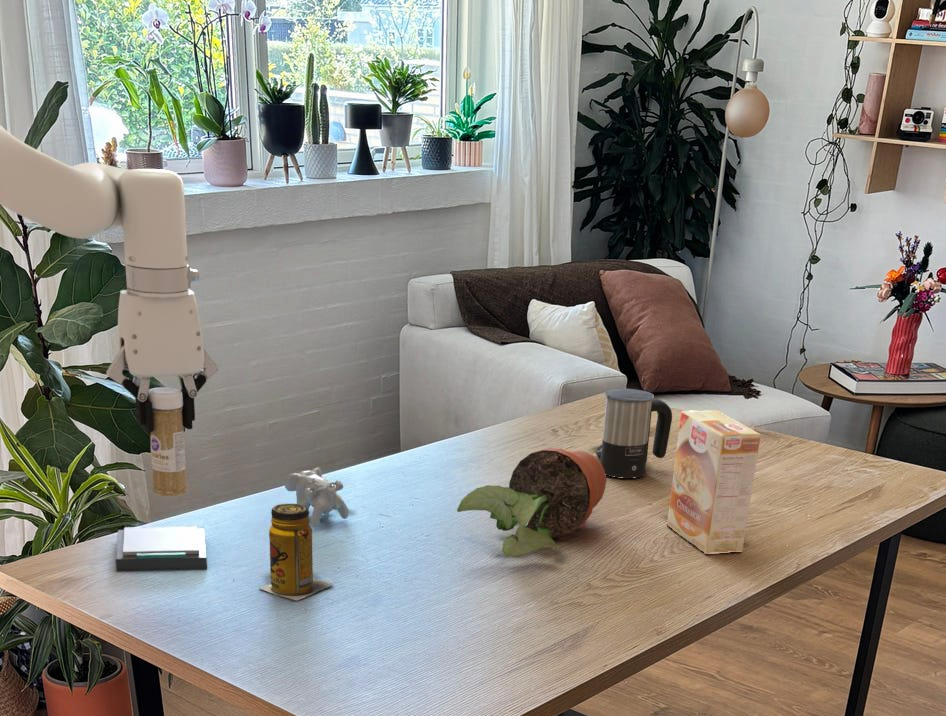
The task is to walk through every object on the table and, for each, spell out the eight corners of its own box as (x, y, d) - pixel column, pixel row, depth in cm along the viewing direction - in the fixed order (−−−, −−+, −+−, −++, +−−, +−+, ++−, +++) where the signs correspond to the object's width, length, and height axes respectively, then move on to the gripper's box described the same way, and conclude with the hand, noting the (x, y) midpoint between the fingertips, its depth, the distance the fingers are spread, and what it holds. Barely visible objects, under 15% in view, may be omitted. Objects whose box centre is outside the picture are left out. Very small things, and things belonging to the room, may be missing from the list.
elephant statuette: (326, 532, 209) (326, 486, 206) (264, 519, 214) (262, 473, 210) (356, 517, 217) (356, 472, 213) (295, 504, 221) (294, 459, 217)
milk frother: (621, 482, 242) (630, 402, 235) (562, 462, 252) (569, 383, 245) (672, 471, 250) (682, 393, 243) (613, 452, 260) (621, 376, 253)
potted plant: (532, 518, 227) (439, 560, 198) (546, 430, 220) (453, 460, 191) (614, 541, 221) (532, 586, 192) (632, 451, 214) (549, 485, 185)
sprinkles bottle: (146, 493, 173) (138, 391, 167) (166, 485, 177) (160, 384, 170) (174, 499, 172) (168, 396, 165) (194, 491, 176) (189, 389, 169)
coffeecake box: (664, 526, 222) (679, 410, 212) (702, 523, 224) (718, 409, 214) (704, 556, 209) (722, 434, 200) (743, 553, 212) (763, 433, 202)
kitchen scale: (116, 571, 190) (115, 555, 189) (118, 541, 201) (117, 526, 200) (207, 569, 193) (206, 553, 192) (204, 539, 204) (203, 524, 202)
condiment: (258, 589, 187) (255, 508, 181) (297, 573, 193) (295, 494, 187) (296, 602, 183) (294, 519, 177) (335, 586, 190) (334, 505, 184)
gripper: (211, 273, 168) (217, 416, 177) (80, 277, 160) (93, 426, 169) (233, 283, 162) (238, 430, 171) (99, 287, 154) (111, 441, 163)
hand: (166, 426), depth 170 cm, fingers closed on sprinkles bottle, 4 cm apart
